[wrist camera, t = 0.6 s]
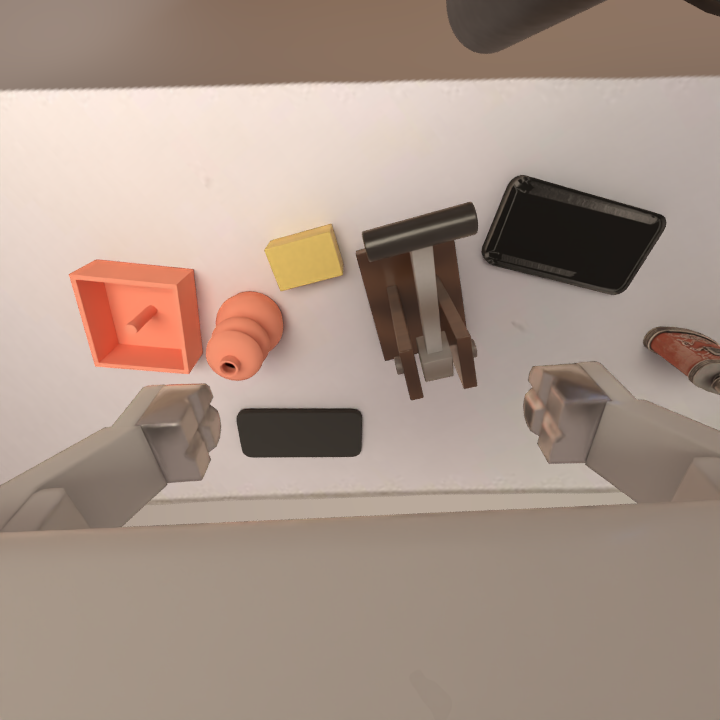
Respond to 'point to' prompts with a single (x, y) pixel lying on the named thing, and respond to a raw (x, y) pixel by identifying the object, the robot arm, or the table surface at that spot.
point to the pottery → (169, 321)
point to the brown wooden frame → (417, 312)
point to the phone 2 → (570, 236)
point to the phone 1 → (300, 432)
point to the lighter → (688, 354)
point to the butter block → (305, 257)
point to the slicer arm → (425, 272)
